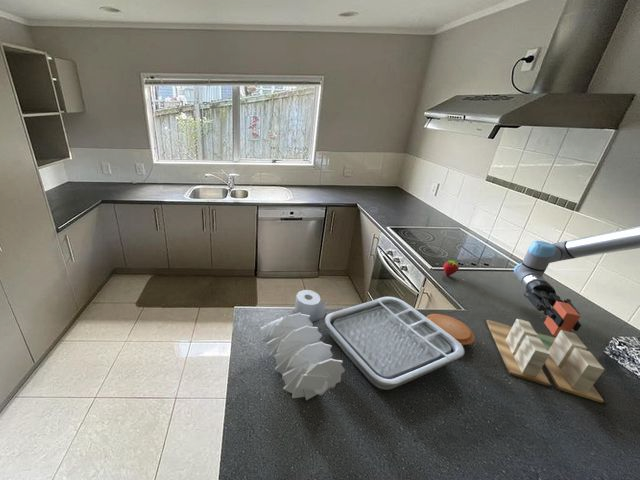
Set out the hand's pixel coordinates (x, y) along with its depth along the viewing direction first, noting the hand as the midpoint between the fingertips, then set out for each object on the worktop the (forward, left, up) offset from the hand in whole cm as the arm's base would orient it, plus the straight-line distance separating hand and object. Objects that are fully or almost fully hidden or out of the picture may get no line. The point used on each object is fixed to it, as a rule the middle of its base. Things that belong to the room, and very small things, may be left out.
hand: (569, 325), depth 93 cm
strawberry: (+43, -24, -13) cm, 51 cm away
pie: (+26, +22, -13) cm, 36 cm away
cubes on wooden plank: (-2, +3, -13) cm, 13 cm away
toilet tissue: (+63, +56, -13) cm, 86 cm away
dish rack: (+36, +47, -13) cm, 60 cm away
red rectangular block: (+2, -4, -6) cm, 7 cm away
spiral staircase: (+47, +79, -13) cm, 93 cm away
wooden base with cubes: (+9, +9, -13) cm, 18 cm away
